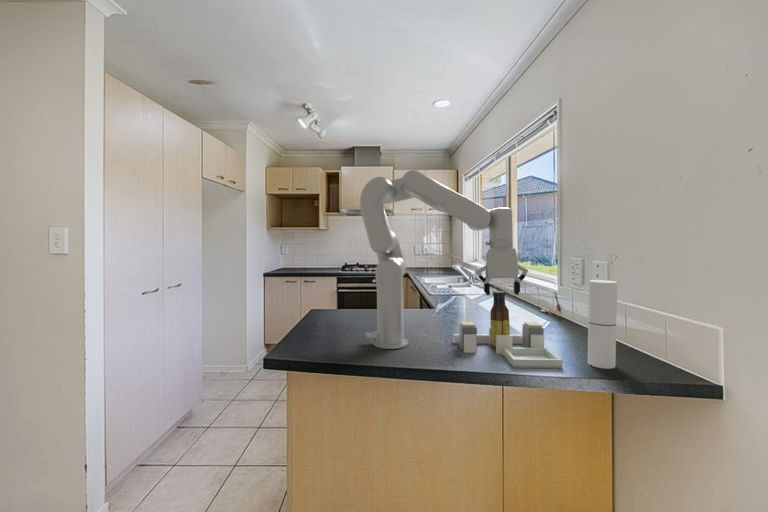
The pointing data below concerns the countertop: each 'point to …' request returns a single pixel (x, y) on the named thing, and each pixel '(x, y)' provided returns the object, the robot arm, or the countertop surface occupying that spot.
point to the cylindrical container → (602, 323)
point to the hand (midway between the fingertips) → (501, 294)
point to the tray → (532, 358)
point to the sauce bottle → (499, 317)
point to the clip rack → (499, 337)
